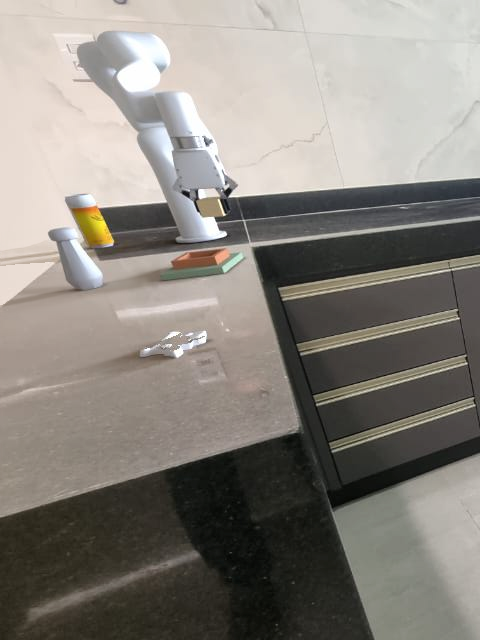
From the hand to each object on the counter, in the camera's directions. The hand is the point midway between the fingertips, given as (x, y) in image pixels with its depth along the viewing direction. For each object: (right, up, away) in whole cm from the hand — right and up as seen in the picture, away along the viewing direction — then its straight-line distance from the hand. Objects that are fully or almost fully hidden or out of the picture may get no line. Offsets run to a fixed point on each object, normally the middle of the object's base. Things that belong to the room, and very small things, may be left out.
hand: (215, 213), depth 147 cm
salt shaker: (-4, -25, -30) cm, 39 cm away
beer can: (-44, -7, +12) cm, 46 cm away
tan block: (0, 0, 0) cm, 1 cm away
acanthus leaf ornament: (+46, -39, -65) cm, 89 cm away
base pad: (+13, -19, -19) cm, 29 cm away
